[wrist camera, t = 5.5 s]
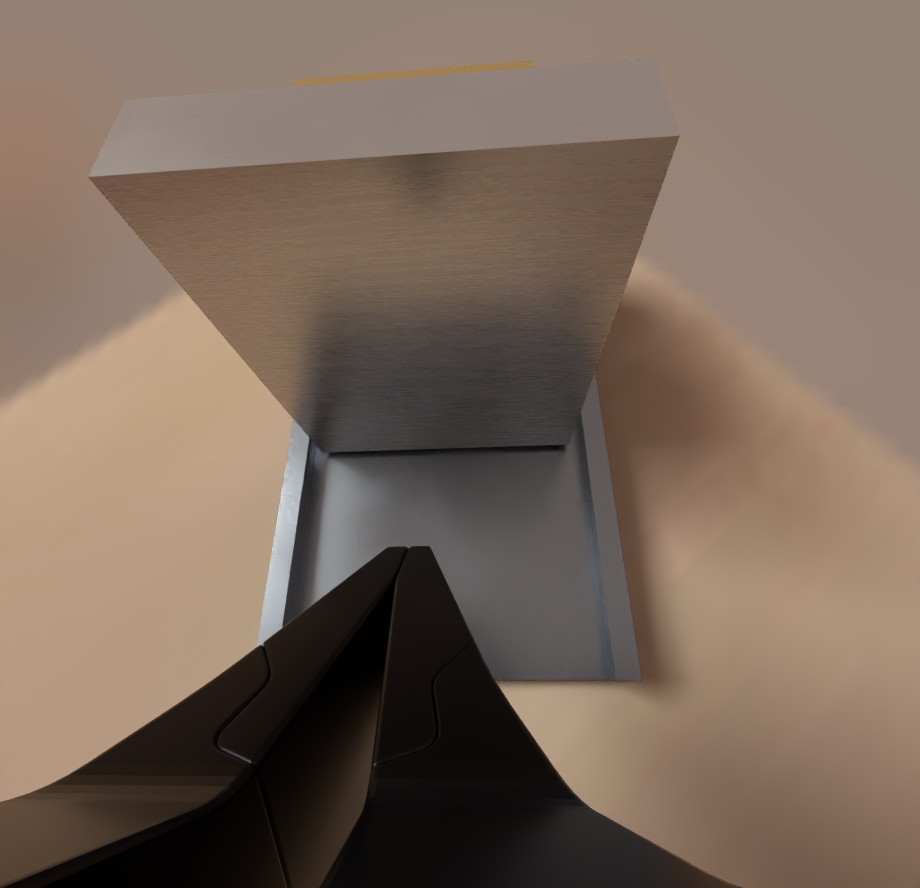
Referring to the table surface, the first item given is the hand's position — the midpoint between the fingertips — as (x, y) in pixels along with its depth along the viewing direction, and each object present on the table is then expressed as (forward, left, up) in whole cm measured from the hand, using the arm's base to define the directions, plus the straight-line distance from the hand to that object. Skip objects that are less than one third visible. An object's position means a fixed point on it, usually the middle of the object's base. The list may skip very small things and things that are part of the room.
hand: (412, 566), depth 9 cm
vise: (+5, -3, -7) cm, 9 cm away
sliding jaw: (+5, -4, -7) cm, 9 cm away
